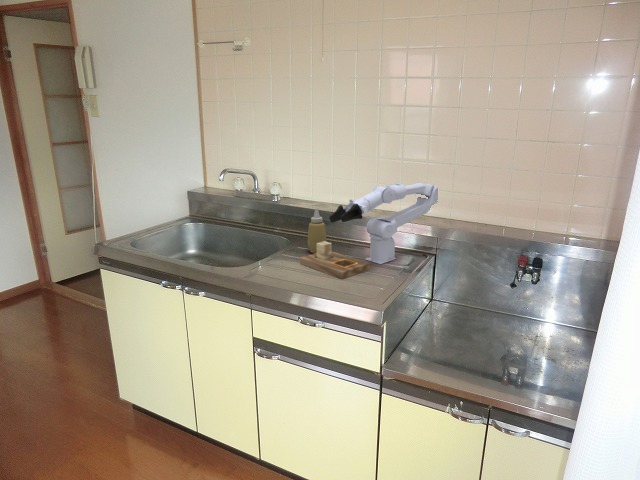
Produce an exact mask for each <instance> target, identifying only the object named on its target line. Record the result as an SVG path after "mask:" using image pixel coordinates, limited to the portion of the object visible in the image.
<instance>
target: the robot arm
mask: <svg viewBox="0 0 640 480" xmlns="http://www.w3.org/2000/svg"><path fill="white" fill-rule="evenodd" d="M430 184H431V183H427V184H423V183H422V182H417V183H413V184H409V185H404V184H402V183H400V182H396V183H395V184H393V185H391V184H386V185H385V186H380V185H379V186H375V187H374V188H373V189H372V190H371V192H369V193H367V194H365V195H364V196H361V197H359V198H358V199H354V198H351V199H349V200H348V201H349V203H348V204H347V205H346V206H343V205H341V204H340V205H338V206H337V209H336V210H335V211H334V212H333V213H332V214H331V215H330V216H328V218H329V219H328V220H329V221H330V223H336V222H338V221H341V222H342V223H346V222H349V221H353V220H362V219H363V215H364V214H367V213H369V212H371V211H372V210H373V209H375V208H377V207H378V206H381V205H382V204H392V202H393V201H398V200H403V199H404V198H406V197H407V195H416V194H421V195H425V196H426V197H428V199H426V198H421V197H418V198H417V202H416V203H414V204H412V205H409V206H408V207H406V208H403V209H401V210H400V211H397V212H395V213H393V214H391V215H389V216H383V217H378V218H371V219H369V220H368V221H367V224H366V231H367V233H368V234H369V237H370V238H369V239H370V244H369V245H370V247H369V251H370V252H369V257H366V258H365V261H369V262H371V263H372V262H373V263H375V264H378V265H382V264H384V263H385V264H386V263H387V262H390V261H394V260H396V259H397V257H396V258H395V255H396V254H395V253H396V251H395V250H396V242H395V239H394V238H393V236H394V234H396V233H397V232H398V228H400V227H402V226H404V225H405V224H408V223H410V222H411V221H414V220H416V219H418V218H420V217H421V216H424V215H426V214H427V213H428V212H429V211H430V210H431V209H432V208H431V206H432V205H434V204H435V205H436V204H438V203H439V202H438V201H437V200H438V187H437V186H435V185H436V184H433V185H430ZM437 202H438V203H437ZM435 205H434V206H435ZM430 208H431V209H430Z"/></svg>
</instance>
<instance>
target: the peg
mask: <svg viewBox="0 0 640 480" xmlns="http://www.w3.org/2000/svg"><path fill="white" fill-rule="evenodd" d="M332 249H333V248H332V242H328V241H327V242H325V241H323V242H320V243H317V258H318V259H321V260H327V259H330V258H332V252H333V251H332Z"/></svg>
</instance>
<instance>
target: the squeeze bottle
mask: <svg viewBox="0 0 640 480" xmlns="http://www.w3.org/2000/svg"><path fill="white" fill-rule="evenodd" d="M313 212H314V213H313V216H312V217H310V222H309V224H308V231H307V240H306V241H307V247H308V248H309V249H308V250H309V252H310V253H312V254H314V253H317V243H320V242H323V241H325V242H328V240H327V232H326V231H327V230H326V223H324V222H323V217H322V216H321V215H320V211H319V208H315V209H314V211H313Z"/></svg>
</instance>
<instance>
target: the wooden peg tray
mask: <svg viewBox="0 0 640 480" xmlns="http://www.w3.org/2000/svg"><path fill="white" fill-rule="evenodd" d="M299 265H302V266H305V267H308V268H311V269H314V270H315V271H317V272H318V271H319V272H321V273H325V274H327V275H330V276H332V277H334V278H338V279H341V280H344V279H346V278H350V277H353V276H355V275H359V274H362V273H365V272H368V271H370V270H371V263H370V262H367V261H363V260H361V259H357V258H354V257H350V256H348V255H344V254H341V253H339V252H335V251H332V258H330V259H327V260H321V259H318V258H317V253H312V254H308V255H305V256H300V257H299Z"/></svg>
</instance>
